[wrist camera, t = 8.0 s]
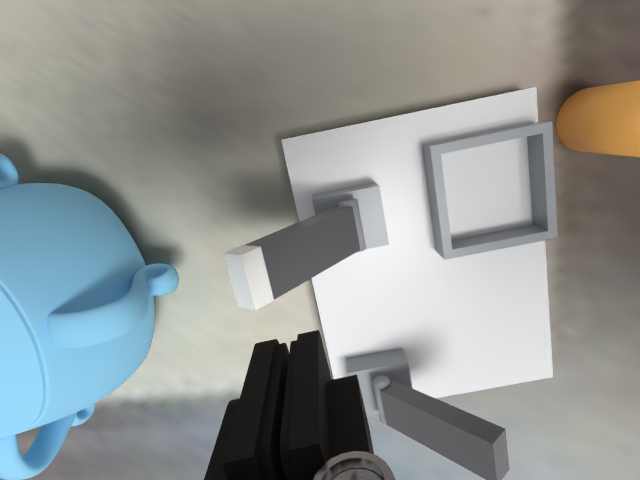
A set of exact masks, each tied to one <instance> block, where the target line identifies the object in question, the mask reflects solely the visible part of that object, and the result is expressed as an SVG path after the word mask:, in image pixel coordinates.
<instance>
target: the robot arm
mask: <svg viewBox="0 0 640 480" xmlns="http://www.w3.org/2000/svg"><path fill="white" fill-rule="evenodd" d="M204 480H395V478H394V475H393V473H392V471H391V469H390V468H389V466H388V465H387V463H386V462H385V461H384V460H382V459H381V458H380V457H378V456H377V455H374V452H373V446H372V441H371V436H370V430H369V425H368V420H367V416H366V411H365V406H364V402H363V398H362V393H361V389H360V385H359V380H358V377H357V375H352V376H347V377H342V378H337V379H331V375H330V371H329V367H328V363H327V359H326V355H325V351H324V347H323V343H322V339H321V335H320V332H319V330H317V331H312V332H307V333H303V334H298V337H297V340H296V341H292V342H291V345H290V354H289V351H288V348H287V345H286V343H282V344H279V342H278V340H277V339H274V340H270V341H265V342H260V343H256V344H255V346H254V350H253V353H252V357H251V360H250V364H249V368H248V371H247V375H246V378H245V382H244V386H243V389H242V393H241V396H240V399H235V400H231V401H230V402H229V404H228V406H227V409H226V412H225V415H224V418H223V421H222V424H221V428H220V431H219V434H218V437H217V440H216V444H215V447H214V450H213V453H212V456H211V459H210V463H209V466H208V469H207V472H206V475H205V478H204Z"/></svg>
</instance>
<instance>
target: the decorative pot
mask: <svg viewBox="0 0 640 480" xmlns="http://www.w3.org/2000/svg"><path fill="white" fill-rule="evenodd" d="M18 182H19V175H18V172H17V169H16V168H15V166H14V164H13V163H12V162H11V160H10V159H9V158H8V157H6V156H5V155H3V154H0V478H2V479H5V480H23V479H27V478H30V477H33V476H35V475H37V474H39V473H40V472H42V471H43V470H44V469H46V468H47V467H48V465H49V464H50V463H51V462H52V461H53V459H54V458H55V456H56V455H57V453H58V451H59V450H60V448H61V446H62V444H63V442H64V440H65V438H66V436H67V434H68V432H69V430H70V427H71V426H77V425H80V424H83V423H84V422H85V421H87V420H88V419H89V418H90V417H91V415H92V414H93V411H94V408H95V402H97V401H99V400H100V399H102V398H104V397H105V396H107V395H109V394H110V393H111V392H113V391H114V390H115V389H117V388H118V387H119V386H120V385H121V384H122V383H124V382H125V381H126V380H127V379H128V378H129V377H130V376H131V375H132V374H133V373H134V372H135V371H136V370H137V369H138V367H139V366H140V365H141V364H142V362H143V361H144V359H145V358H146V356H147V354H148V351H149V349H150V346H151V342H152V337H153V332H154V322H155V305H154V296H156V295H164V294H168V293H171V292H173V291H174V290H175V289H176V288H177V286H178V281H179V277H178V273H177V271H176V269H175V268H174V267H173V266H171V265H168V264H162V263H156V264H150V265H145V262H144V260H143V257H142V255H141V253H140V251H139V249H138V247H137V245H136V244H135V242H134V240H133V238H132V237H131V235H130V233H129V232H128V230H127V229H126V227H125V226H124V225H123V223H122V222H121V220H120V219H119V218H118V217H117V216H116V214H115V213H114V212H113V211H112V210H111V209H110V208H109V207H108V206H107V205H106V204H105V203H103V202H102V201H101V200H100V199H98V198H97V197H95V196H94V195H92V194H90V193H89V192H86V191H84V190H81V189H79V188H76V187H72V186H67V185H63V184H54V183H25V184H18ZM39 426H42V427H41V429H40V431H39V433H38V435H37V436H36V438H35V440H34V442H33V443H32V445H31V447H30V448H29V450H28V451H27V453H26V454H25V455H24V457H23V458H22V456H21V454H20V451H19V447H18V443H17V438H16V436H17V434H18V433H21V432H24V431H27V430H30V429H33V428H36V427H39Z"/></svg>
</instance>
